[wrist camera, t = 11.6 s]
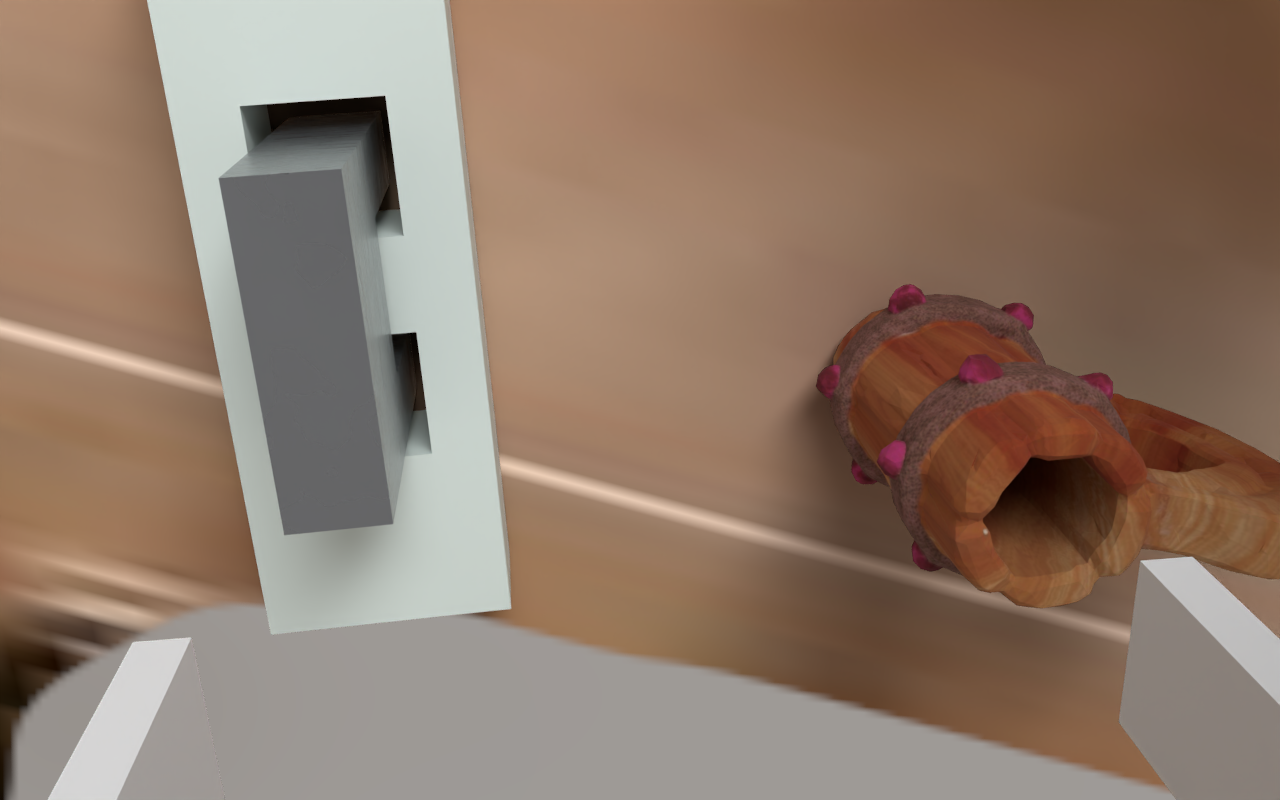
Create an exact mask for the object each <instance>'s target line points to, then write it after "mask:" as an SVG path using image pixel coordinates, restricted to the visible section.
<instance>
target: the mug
mask: <svg viewBox="0 0 1280 800" xmlns="http://www.w3.org/2000/svg"><path fill="white" fill-rule="evenodd" d="M1033 317H1034V315H1033V313H1032V312H1031V310H1030V309H1029V307H1027V306H1026V305H1024V304H1022V303H1012V304H1008V305H1005V306H1004V307H1003V308H1002V309H998V308H995V307H993V306H991V305H989V304H987V303H985V302H982V301H980V300H976V299H971V298H967V297H963V296H958V295H939V294H934V295H927V296H924V294H923V293H922V291H921V290H920V289H919V288H917V287H916V286H914V285H911V284H909V285H903V286H901V287H900V288H898V289H896V290H895V292H894V293H893V295H892V296H891V298H890V300H889V306H888V308H886V309H883V310H879V311H876V312H872V313H871V314H869V315H868V316H867V317H866V318H865V319H863V320H862V321H861V322H859V323H858V324H857V325H856V326H855V327H853V328H852V329H851V330H850V331H849V332H848V334H847V335H846V336H845V337H844V338H843V340H842V341H841V343H840V345H839V346H838V348H837V351H836V353H835V355H834V357H833V365H831V366H828V367H826V368H825V369H824V370H823V371H822V372H821V373H820V374H819V375H818V379H817V385H816V387H817V388H818V390H819V391H820V392H822V393H823V394H824V395H825V396H826V397H827V398H829V399H830V404H831V409H832V413H833V417H834V422H835V425H836V427H837V429H838V431H839V433H840V435H841V437H842V439H843V441H844V443H845V445H846V447H847V449H848V451H849V453H850V454H851V456H852V457H853V458H854V459H853V461H852V473H853V475H854V478H855V480H856V481H857V482H859V483H861V484H874V483H875V482H877V481H878V482H880V483H882V484H884V485H886V486H888V487H890V488H891V491H892V497H893V502H894V504H895V506H896V509H897V511H898V513H899V515H900V517H901V519H902V521H903V523H904V524H905V526H906V527H907V529H908V530H909V532H910V534H911V535H912V537H913V538H914V540H915V541H914V543H913V545H912V555H913V561H914V562H915V563H916V564H917V565H918V566H919V567H920V568H921V569H924V570H927V571H936V570H939V569H941V568H943V567H944V568H946V569H949V570H951V571H953V572H956V573H958V574H960V575H963V576H964V577H965V578H966V579H967V580H968V581H970V582H971V583H972V584H973V585H974V586H975V587H976V588H977V589H978V590H980V591H984V592H989V593H991V592H1001V593H1002V594H1003V595H1004V596H1006V597H1007V598H1008V599H1009V600H1011V601H1012V602H1013V603H1014V604H1016V605H1018V606H1026V607H1034V608H1046V607H1056V606H1062V605H1066V604H1070V603H1074V602H1078V601H1079V600H1081V599H1083V598H1084V597H1086V596H1087V595H1089V594H1090V593H1091V591H1092V588H1093V585H1094V583H1095V582H1096V581H1097V580H1098V578H1099V577H1105V576H1117V575H1120V574H1121V573H1123V572H1124V571H1125V570H1126V569H1127V568H1128V567H1129V565H1130V564H1131V563H1132V562H1133V561H1134V559H1135V558H1136V557H1137V556H1138V554H1139V552H1140V550H1141V549H1150V550H1160V551H1166V552H1171V553H1176V554H1181V555H1185V556H1188V557H1193V558H1194V559H1196V560H1199V561H1202V562H1205V563H1208V564H1211V565H1214V566H1217V567H1220V568H1223V569H1226V570H1229V571H1233V572H1237V573H1242V574H1247V575H1251V576H1256V577H1260V578H1266V579H1280V463H1279V462H1277V461H1276V460H1274V459H1272V458H1271V457H1269V456H1267V455H1266V454H1264V453H1262V452H1260V451H1259V450H1257V449H1255V448H1253V447H1251V446H1249V445H1247V444H1245V443H1243V442H1241V441H1239V440H1237V439H1235V438H1233V437H1231V436H1229V435H1227V434H1225V433H1223V432H1221V431H1219V430H1217V429H1215V428H1212V427H1210V426H1207V425H1205V424H1202V423H1199V422H1197V421H1194V420H1192V419H1189V418H1186V417H1184V416H1181V415H1178V414H1176V413H1173V412H1171V411H1168V410H1165V409H1162V408H1159V407H1156V406H1153V405H1150V404H1147V403H1144V402H1141V401H1138V400H1133V399H1127V398H1125V397H1123V396H1121V395H1119V394H1113V382H1112V381H1111V380H1110V378H1109V377H1108V376H1107V375H1105V374H1103V373H1092V374H1088V375H1083V376H1079V377H1076V376H1074V375H1072V374H1069V373H1067V372H1064V371H1062V370H1060V369H1057V368H1055V367H1052V366H1048V365H1046V363H1045V361H1044V359H1043V356H1042V354H1041V352H1040V350H1039V348H1038V347H1037V345H1036V344H1035V342H1034V340H1033V339H1032V337H1031V336H1030V334H1029V333H1028V330H1030V329H1031V328H1032V326H1033Z"/></svg>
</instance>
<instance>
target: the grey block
mask: <svg viewBox="0 0 1280 800" xmlns="http://www.w3.org/2000/svg"><path fill="white" fill-rule="evenodd" d="M219 183H220V189H221V194H222V200H223V205H224V211H225V216H226V221H227V227H228V232H229V238H230V243H231V249H232V254H233V259H234V265H235V270H236V276H237V281H238V287H239V292H240V297H241V303H242V308H243V314H244V319H245V325H246V330H247V336H248V341H249V346H250V352H251V357H252V363H253V368H254V374H255V379H256V384H257V390H258V395H259V401H260V406H261V412H262V417H263V423H264V428H265V433H266V439H267V444H268V450H269V455H270V461H271V466H272V471H273V477H274V482H275V488H276V493H277V499H278V504H279V510H280V515H281V520H282V526H283V531H284V535H292V534H302V533H312V532H322V531H331V530H341V529H351V528H361V527H371V526H381V525H391V524H393V523H394V518H395V512H396V506H397V500H398V494H399V488H400V483H401V477H402V471H403V465H404V459H405V454H406V448H407V442H408V436H409V430H410V424H411V419H412V413H413V407H414V401H415V395H416V390H417V382H416V375H415V367H414V360H413V352H412V345H411V337H410V333H401V334H391V328H390V321H389V314H388V307H387V300H386V292H385V285H384V278H383V271H382V263H381V256H380V249H379V242H378V235H377V227H376V220H375V216H376V214H377V212H378V209H379V207H380V205H381V202H382V200H383V198H384V195H385V193H386V191H387V188H388V186H389V184H390V179H389V171H388V164H387V156H386V148H385V141H384V133H383V126H382V118H381V111H367V112H353V113H339V114H326V115H312V116H298V117H289V118H288V119H287V120H286V121H285V122H284V123H282V124H281V125H280V126H279V127H278V128H277V129H275V130H274V131H273V132H272V133H271V134H270V135H268V136H267V137H266V138H265V139H264V140H263V141H261V142H260V143H259V144H258V145H257V146H256V147H254V148H253V149H252V150H251V151H250V152H249V153H247V154H246V155H245V156H244V157H243V158H242V159H240V160H239V161H238V162H237V163H236V164H235V165H233V166H232V167H231V168H230V169H229V170H227V171H226V172H225V173H224V174H223V175H222V176H220V177H219Z"/></svg>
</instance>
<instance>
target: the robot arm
mask: <svg viewBox="0 0 1280 800" xmlns="http://www.w3.org/2000/svg"><path fill="white" fill-rule="evenodd" d="M1119 723H1120V725H1121V726H1122V727H1123V729H1124V730H1125V731H1126V733H1127V734H1128V735H1129V737H1130V738H1131V739H1132V741H1133V742H1134V743H1135V745H1136V746H1137V747H1138V749H1139V750H1140V752H1141V753H1142V754H1143V756H1144V757H1145V758H1146V760H1147V761H1148V762H1149V764H1150V765H1151V766H1152V768H1153V769H1154V770H1155V772H1156V773H1157V774H1158V776H1159V777H1160V778H1161V780H1162V781H1163V782H1164V784H1165V785H1166V786H1167V788H1168V789H1169V790H1170V792H1171V793H1172V794H1173V796H1174V797H1175V799H1176V800H1280V639H1279V638H1278V637H1277V636H1276V635H1275V634H1274V633H1273V632H1272V631H1270V630H1269V629H1268V628H1267V627H1266V626H1265V625H1264V624H1263V623H1262V622H1261V621H1260V620H1259V619H1258V618H1257V617H1256V616H1255V615H1254V614H1253V613H1251V612H1250V611H1249V610H1248V609H1247V608H1246V607H1245V606H1244V605H1243V604H1242V603H1241V602H1240V601H1239V600H1238V599H1237V598H1236V597H1235V596H1234V595H1232V594H1231V593H1230V592H1229V591H1228V590H1227V589H1226V588H1225V587H1224V586H1223V585H1222V584H1221V583H1220V582H1219V581H1218V580H1217V579H1216V578H1215V577H1213V576H1212V575H1211V574H1210V573H1209V572H1208V571H1207V570H1206V569H1205V568H1204V567H1203V566H1202V565H1201V564H1200V563H1199V562H1198V561H1197V560H1196V559H1194V558H1193V557H1181V558H1168V559H1156V560H1143V561H1140V566H1139V574H1138V581H1137V589H1136V596H1135V604H1134V611H1133V619H1132V626H1131V634H1130V641H1129V649H1128V656H1127V664H1126V671H1125V679H1124V686H1123V693H1122V701H1121V708H1120V716H1119ZM48 800H225V796H224V792H223V787H222V782H221V777H220V772H219V768H218V763H217V758H216V753H215V749H214V743H213V738H212V734H211V729H210V724H209V719H208V714H207V709H206V705H205V700H204V695H203V691H202V685H201V680H200V676H199V671H198V666H197V661H196V656H195V651H194V647H193V642H192V638H191V637H190V638H178V639H166V640H154V641H141V642H133V643H132V645H131V647H130V648H129V650H128V652H127V654H126V656H125V658H124V660H123V661H122V663H121V665H120V667H119V669H118V671H117V672H116V674H115V676H114V678H113V680H112V682H111V684H110V686H109V687H108V689H107V691H106V693H105V695H104V696H103V698H102V700H101V702H100V704H99V706H98V708H97V709H96V711H95V713H94V715H93V717H92V719H91V720H90V723H89V724H88V726H87V728H86V730H85V732H84V733H83V735H82V737H81V739H80V741H79V743H78V745H77V746H76V748H75V750H74V752H73V754H72V756H71V758H70V759H69V761H68V763H67V765H66V767H65V769H64V770H63V772H62V774H61V776H60V778H59V780H58V781H57V784H56V785H55V787H54V789H53V791H52V793H51V795H50V796H49V798H48Z"/></svg>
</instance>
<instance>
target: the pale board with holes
mask: <svg viewBox="0 0 1280 800" xmlns="http://www.w3.org/2000/svg"><path fill="white" fill-rule="evenodd" d="M147 2H148V7H149V12H150V18H151V23H152V28H153V33H154V38H155V43H156V48H157V54H158V59H159V64H160V69H161V74H162V79H163V84H164V89H165V95H166V100H167V105H168V110H169V115H170V120H171V125H172V130H173V136H174V141H175V146H176V151H177V156H178V161H179V166H180V171H181V177H182V182H183V187H184V192H185V197H186V202H187V207H188V212H189V218H190V223H191V228H192V233H193V238H194V243H195V248H196V253H197V259H198V264H199V269H200V274H201V279H202V284H203V289H204V295H205V300H206V305H207V310H208V315H209V320H210V325H211V330H212V336H213V341H214V346H215V351H216V356H217V361H218V366H219V371H220V377H221V382H222V387H223V392H224V397H225V402H226V407H227V412H228V418H229V423H230V428H231V433H232V438H233V443H234V448H235V453H236V459H237V464H238V469H239V474H240V479H241V484H242V489H243V494H244V500H245V505H246V510H247V515H248V520H249V525H250V530H251V536H252V541H253V546H254V551H255V556H256V561H257V566H258V571H259V577H260V582H261V587H262V592H263V597H264V602H265V607H266V612H267V618H268V623H269V628H270V633H271V635H273V634H274V635H275V634H284V633H293V632H302V631H312V630H321V629H330V628H339V627H348V626H357V625H367V624H376V623H385V622H394V621H404V620H413V619H422V618H431V617H440V616H450V615H459V614H468V613H477V612H486V611H496V610H505V609H511V585H510V552H509V543H508V533H507V524H506V515H505V506H504V497H503V487H502V478H501V469H500V460H499V451H498V441H497V432H496V423H495V414H494V405H493V395H492V386H491V377H490V368H489V359H488V349H487V340H486V331H485V322H484V313H483V303H482V294H481V285H480V276H479V266H478V257H477V248H476V239H475V230H474V220H473V211H472V202H471V193H470V184H469V174H468V165H467V156H466V147H465V138H464V128H463V119H462V110H461V101H460V92H459V82H458V73H457V64H456V55H455V45H454V36H453V27H452V18H451V9H450V0H147ZM374 96H385V97H386V104H387V112H388V120H389V127H390V135H391V143H392V150H393V158H394V166H395V173H396V181H397V189H398V196H399V204H400V209H397V210H384V211H378V212H377V214H376V216H375V220H376V227H377V235H378V242H379V249H380V256H381V263H382V271H383V278H384V285H385V292H386V300H387V307H388V314H389V321H390V328H391V334H401V333H412V332H416V334H417V342H418V349H419V357H420V365H421V372H422V380H423V388H424V395H425V403H426V410H419V411H413V413H412V419H411V424H410V430H409V436H408V442H407V448H406V454H405V459H404V465H403V471H402V477H401V483H400V488H399V494H398V500H397V506H396V512H395V518H394V523H393V524H391V525H381V526H371V527H361V528H351V529H341V530H331V531H322V532H312V533H302V534H292V535H284V531H283V526H282V520H281V515H280V510H279V504H278V499H277V493H276V488H275V482H274V477H273V471H272V466H271V461H270V455H269V450H268V444H267V439H266V433H265V428H264V423H263V417H262V412H261V406H260V401H259V395H258V390H257V384H256V379H255V374H254V368H253V363H252V357H251V352H250V346H249V341H248V336H247V330H246V325H245V319H244V314H243V308H242V303H241V297H240V292H239V287H238V281H237V276H236V270H235V265H234V259H233V254H232V249H231V243H230V238H229V232H228V227H227V221H226V216H225V211H224V205H223V200H222V194H221V189H220V183H219V177H220V176H222V175H223V174H224V173H225V172H226V171H227V170H229V169H230V168H231V167H232V166H233V165H235V164H236V163H237V162H238V161H239V160H240V159H242V158H243V157H244V156H245V155H246V154H247V153H249V152H250V151H251V150H252V149H253V148H254V147H256V146H257V145H258V144H259V143H260V142H261V141H263V140H264V139H265V138H266V137H267V136H268V135H270V134H271V133H272V132H271V126H270V120H269V114H268V108H267V104H276V103H290V102H304V101H318V100H332V99H346V98H360V97H374Z"/></svg>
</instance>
